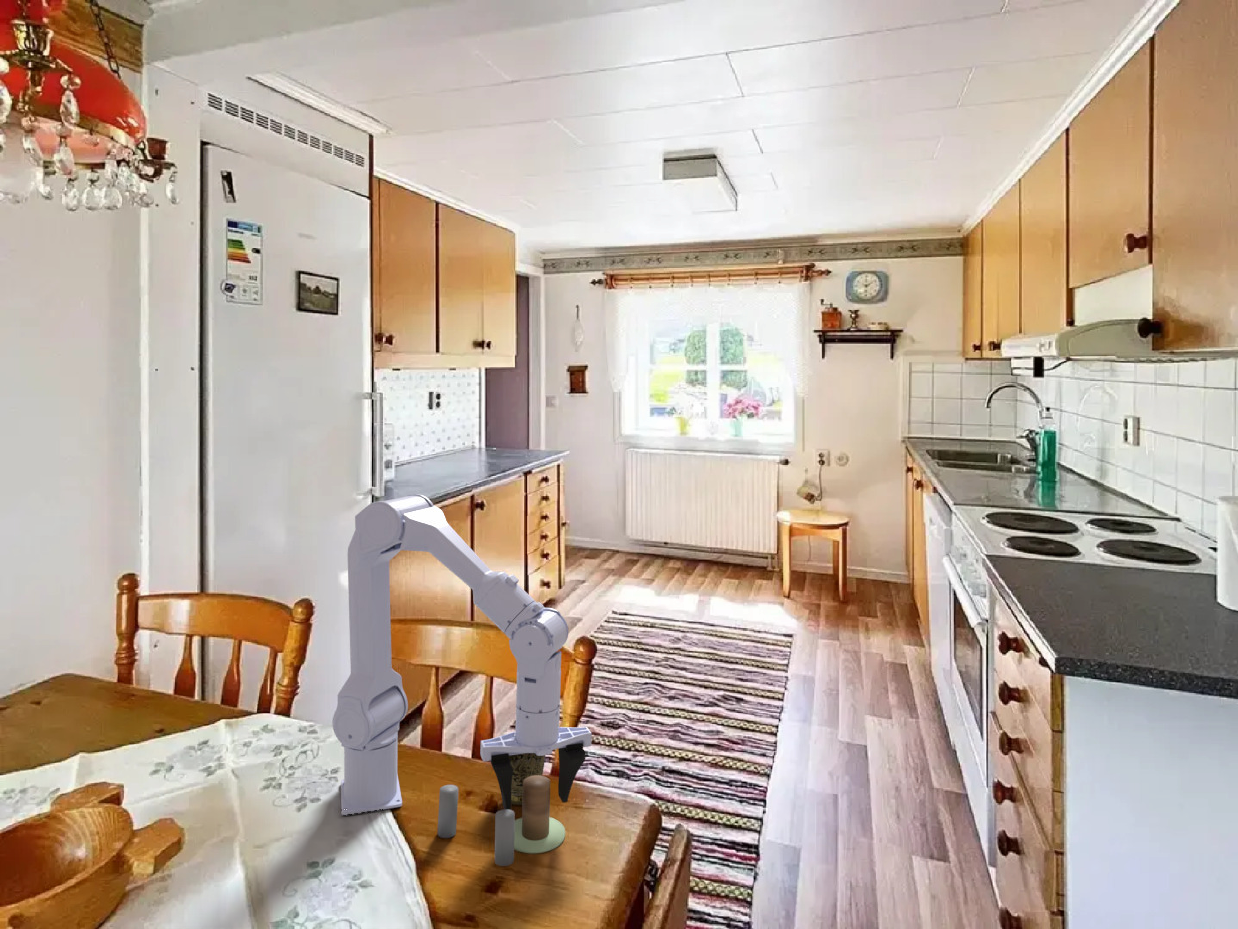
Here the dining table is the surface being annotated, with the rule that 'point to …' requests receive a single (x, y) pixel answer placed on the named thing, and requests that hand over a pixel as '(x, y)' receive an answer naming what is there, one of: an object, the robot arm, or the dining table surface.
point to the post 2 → (504, 837)
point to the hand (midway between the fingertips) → (535, 803)
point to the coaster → (539, 846)
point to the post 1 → (447, 811)
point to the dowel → (536, 807)
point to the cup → (524, 773)
